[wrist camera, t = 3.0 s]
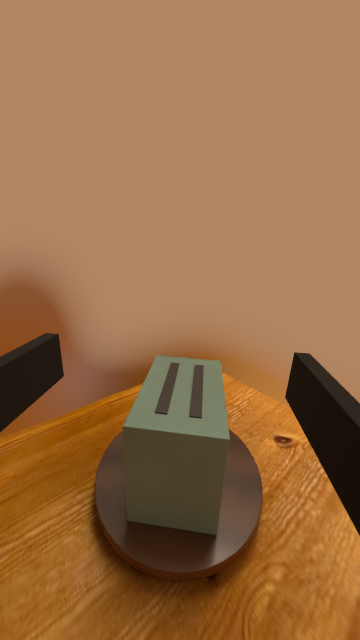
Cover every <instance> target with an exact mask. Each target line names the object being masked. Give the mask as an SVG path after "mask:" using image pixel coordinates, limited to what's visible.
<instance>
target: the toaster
mask: <svg viewBox="0 0 360 640" xmlns="http://www.w3.org/2000/svg"><path fill="white" fill-rule="evenodd" d="M95 502H96V509H97V516H98V519H99V522H100V525H101V528H102V530H103V532H104V534H105V536H106V538H107V540H108V542H109V543H110V544H111V546H112V547H113V549H114V550H115V551H116V552H117V553H118V554H119V555H120V556H121V557H122V558H123V559H124V560H125V561H126V562H127V563H129V564H130V565H131V566H133V567H134V568H136V569H137V570H139V571H141V572H143V573H145V574H147V575H149V576H152V577H156V578H159V579H163V580H169V581H192V580H198V579H201V578H205V577H208V576H211V575H213V574H215V573H217V572H219V571H221V570H223V569H224V568H226V567H227V566H229V565H230V564H231V563H233V562H234V561H235V560H236V559H237V558H238V557H239V556H240V555H241V554H242V553H243V552H244V550H245V549H246V547H247V546H248V544H249V543H250V541H251V539H252V537H253V535H254V533H255V531H256V528H257V525H258V521H259V518H260V513H261V507H262V483H261V477H260V474H259V470H258V467H257V465H256V463H255V460H254V458H253V456H252V455H251V453H250V451H249V450H248V448H247V447H246V446H245V444H244V443H243V442H242V441H241V440H240V439H239V438H238V436H236V435H235V434H234V433H233V432H232V431H231V430H229V428H228V420H227V411H226V403H225V394H224V386H223V377H222V368H221V361H213V360H202V359H191V358H180V357H169V356H156V358H155V360H154V363H153V365H152V367H151V369H150V371H149V373H148V375H147V377H146V379H145V382H144V383H143V385H142V388H141V390H140V392H139V394H138V396H137V398H136V400H135V402H134V404H133V406H132V408H131V411H130V413H129V415H128V417H127V419H126V421H125V423H124V425H123V431H122V432H121V433H120V434H119V435H118V436H117V437H116V438H115V439H114V440H113V441H112V443H111V444H110V445H109V446H108V448H107V450H106V451H105V453H104V455H103V457H102V459H101V462H100V464H99V467H98V471H97V474H96V481H95Z"/></svg>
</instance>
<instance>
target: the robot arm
mask: <svg viewBox="0 0 360 640" xmlns="http://www.w3.org/2000/svg"><path fill="white" fill-rule="evenodd" d="M63 376H64V374H63V367H62V359H61V351H60V342H59V334H51V333H45V334H44V335H41V336H40V337H38V338H36V339H34V340H32V341H30V342H28V343H26V344H24V345H22V346H20V347H18V348H16V349H14V350H12V351H11V352H9V353H7V354H5V355H3V356H1V357H0V432H1V431H2V430H3V429H4V428H6V427H7V426H8V425H9V424H10V423H11V422H12V421H13V420H15V419H16V418H17V417H18V416H19V415H20V414H22V413H23V412H24V411H25V410H26V409H27V408H28V407H29V406H31V404H33V403H34V402H35V401H36V400H37V399H38V398H40V397H41V396H42V395H43V394H44V393H45V392H46V391H48V390H49V389H50V388H51V387H52V386H53V385H54V384H55V383H57V382H58V381H59V380H60V379H61V378H62V377H63ZM285 398H286V399H287V401H288V403H289V405H290V407H291V409H292V411H293V413H294V415H295V416H296V418H297V420H298V422H299V424H300V426H301V428H302V429H303V431H304V433H305V435H306V437H307V439H308V441H309V442H310V444H311V446H312V448H313V450H314V452H315V453H316V455H317V457H318V459H319V461H320V463H321V465H322V466H323V468H324V470H325V472H326V474H327V476H328V478H329V479H330V481H331V483H332V485H333V487H334V489H335V491H336V492H337V494H338V496H339V498H340V500H341V502H342V504H343V505H344V507H345V509H346V511H347V513H348V515H349V517H350V518H351V520H352V522H353V524H354V526H355V528H356V530H357V531H358V533H359V535H360V404H359V402H358V401H356V399H355V398H354V397H353V396H351V395H350V393H349V392H347V391H346V390H345V388H344V387H342V386H341V385H340V384H339V382H338V381H337V380H335V379H334V377H332V376H331V375H330V374H329V373H328V372H327V371H326V370H325V369H324V368H323V367H322V366H321V365H320V364H319V363H318V362H317V361H316V360H315V359H314V358H313V357H312V356H311V355H310V354H306V353H294V357H293V362H292V367H291V372H290V377H289V382H288V387H287V391H286V397H285Z"/></svg>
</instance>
